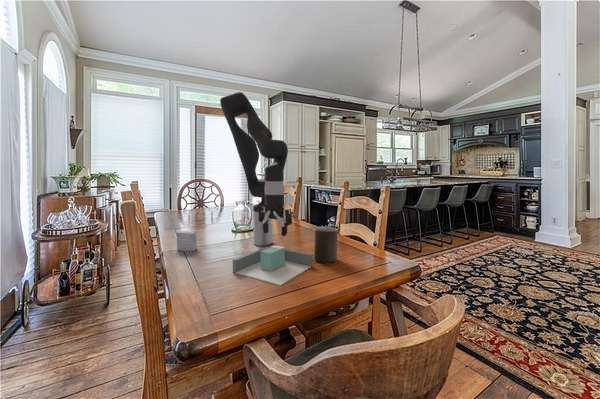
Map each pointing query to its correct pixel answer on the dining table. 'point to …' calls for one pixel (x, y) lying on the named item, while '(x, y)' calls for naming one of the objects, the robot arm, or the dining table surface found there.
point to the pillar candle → (325, 244)
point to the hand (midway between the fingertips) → (274, 234)
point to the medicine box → (186, 241)
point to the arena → (292, 268)
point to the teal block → (272, 258)
